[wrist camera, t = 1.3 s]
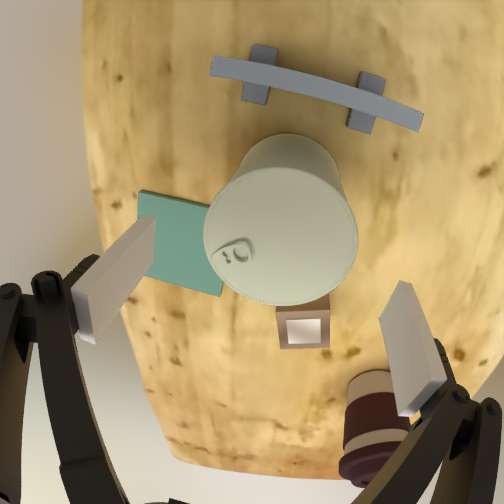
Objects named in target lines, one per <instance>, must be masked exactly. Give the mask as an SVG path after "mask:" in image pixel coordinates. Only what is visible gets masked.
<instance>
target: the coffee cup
mask: <svg viewBox="0 0 504 504" xmlns="http://www.w3.org/2000/svg"><path fill="white" fill-rule="evenodd" d="M410 426H411V424H410V420H409V417H406V416H398V412H397V406H396V400H395V394H394V388H393V383H392V377H391V373H390V372H387V371H370V372H366V373H363V374H361V375H359V376H357V377H356V378H354V379H353V380H352V381H351V382H350V384H349V386H348V389H347V408H346V411H345V423H344V439H343V450H344V456H343V457H342V458H341V459H340V461H339V474H340V476H341V477H343V478H344V479H347V480H350V481H351V482H352V484H353V485H354V486H356V487H360V488H366V486H367V485H368V484H369V483H370V482H371V481H372V479H373V478H374V477H375V476H376V475H377V473H378V472H379V471H380V470H381V469H382V467H383V466H384V465H385V463H386V462H387V461H388V460H389V458H390V457H391V456H392V454H393V453H394V452H395V450H396V449H397V448H398V446H399V445H400V444H401V442H402V441H403V440H404V438H405V437H406V435H407V434H408V432H409V431H410V430H411V429H410V430H408V428H409V427H410Z"/></svg>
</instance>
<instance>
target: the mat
mask: <svg viewBox="0 0 504 504" xmlns="http://www.w3.org/2000/svg"><path fill="white" fill-rule="evenodd" d="M208 209H209V206H208V205H204V204H200V203H195V202H191V201H187V200H182V199H178V198H174V197H169V196H165V195H161V194H156V193H152V192H147V191H143V190H141V191H140V192H139V196H138V217H137V220H138V219H139V218H140V217H141V216H142V215H145V216H149V217H153V218H156V228H155V245H154V263H153V264H152V265H151V267H150V268H149V269H148V271H147V272H146V273H145V275H144V276H147V277H151V278H154V279H157V280H161V281H164V282H168V283H171V284H175V285H178V286H182V287H185V288H189V289H193V290H196V291H200V292H203V293H207V294H211V295H214V296H218V297H220V295H221V292H222V286H223V280H222V279H221V278H220V277H219V276H218V275H217V273H216V272H215V270H214V269H213V267H212V266H211V264H210V262H209V260H208V257H207V254H206V251H205V247H204V241H203V227H204V221H205V217H206V213H207V211H208Z"/></svg>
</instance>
